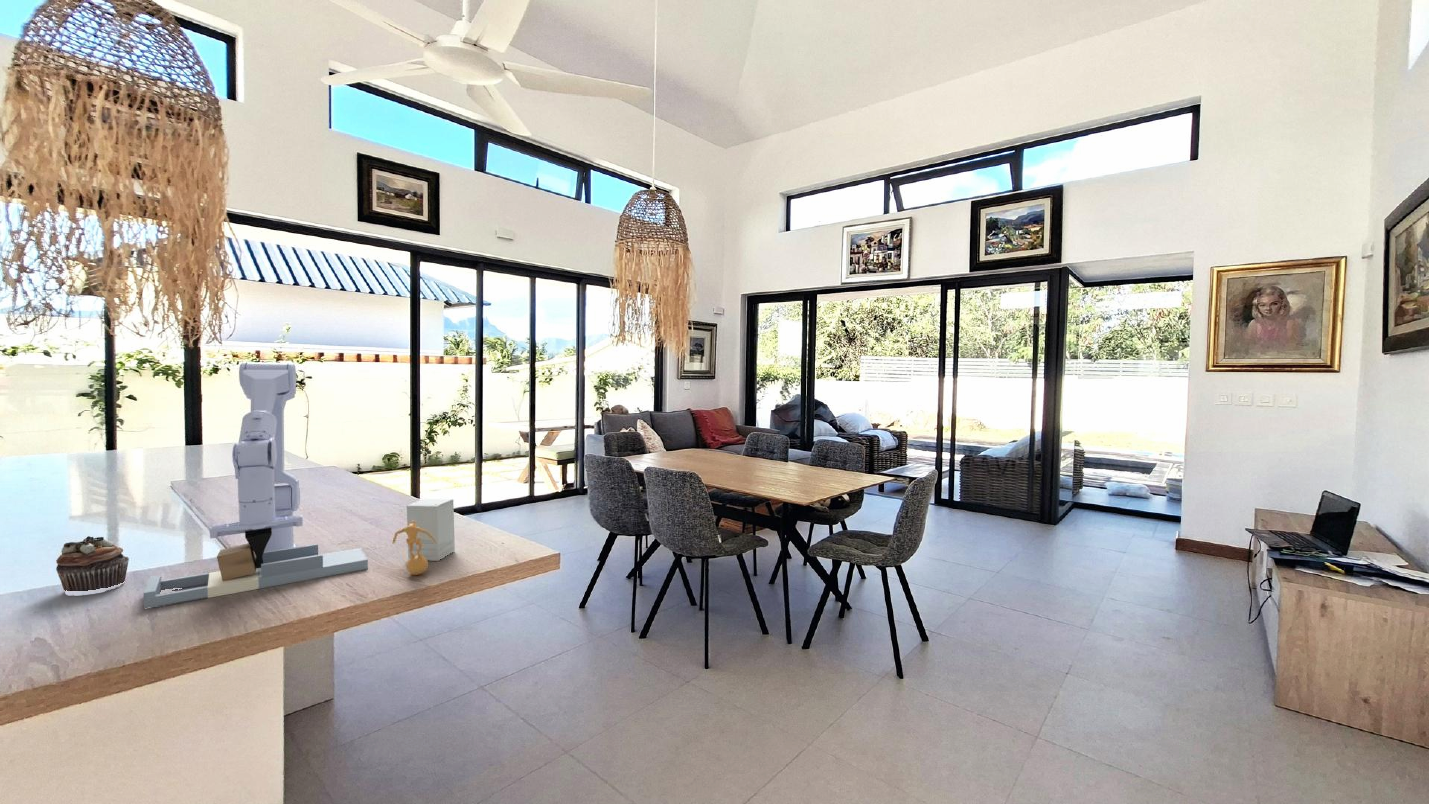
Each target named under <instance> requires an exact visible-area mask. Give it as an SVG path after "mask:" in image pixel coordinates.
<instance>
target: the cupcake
mask: <svg viewBox="0 0 1429 804" xmlns="http://www.w3.org/2000/svg"><path fill="white" fill-rule="evenodd" d="M123 551H124V549H123V548H122V547H120V546H118V545H115V544H114V542H112V541H109V540H107V539H105V538H104V536H100V537H99V536H98V537H94V536H90V535H89V536H86V537H85V538H84V539H83V540H82V541H77V542H75V541H74V542H73V541H70V542H66V543H64V544H63V547H62V548H61V552H60V553H61V554H60V555H59V556H58V557H57V559H55V560H56V561H55V562H56V564H57V565H56V569H55V571H56V572H57V576H58V578H59V580H60V583H61V585H62V589H63V591H64V590H65V591H66V590H67V591H88V590H96V589H100V588H108V587H111V586H114V585H118V584H120V583H123V582H124V581H125V582H126V577H127V571H128V566H129V561H130V558H129V557H128V556H124V554H123Z"/></svg>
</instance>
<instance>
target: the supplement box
mask: <svg viewBox="0 0 1429 804" xmlns="http://www.w3.org/2000/svg"><path fill="white" fill-rule="evenodd" d="M454 505H455V504H454V499H453V498H427V497H426V498H425V497H424V498H422V499H420V500H417V501H415V502H413V503H412V502H411V503H410V504H407V505H406V520H407V522H406V523H407V526H408V525H409V524H410V523H411V521H413V520H414V521H415V522H416V526H417V527H419V528H421V529H423V530H425V531H427V532H429V534H430V535H432V536H433V538H434V539H435V542H436V543H435V542H434V540H433V539H432V538H430V537H429V536H428V535H427V534H426V533H422V532H419V531H418V534H417V539H418V538H420V539H421V540H420V541H421V543H422V547H421V551H420V555H422V556H423V557H425V558H426V559H427V561H430V562H431V561H435V562H438V561H441V560H442V559H444V558H446V557H447V555H448V556H449V555H451V554H453V553H454V552H455V551H456V549H455V548H456V547H455V545H456V544H455V515H454V513H455V510H454V507H455V506H454ZM407 526H406V527H407ZM407 538H409V537H408V536H407ZM418 548H419V546H418V545H416V542H414V544H413V551H412V553H413V555H414V556H417V555H418V554H417V549H418ZM407 549H408V550H407V553H408V560H409V559H410V558H411V555H410V552H409V549H410V546H409V545H408V544H407ZM452 552H453V553H452ZM450 553H451V554H450ZM445 556H446V557H445ZM440 559H441V560H440Z"/></svg>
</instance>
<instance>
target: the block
mask: <svg viewBox="0 0 1429 804" xmlns="http://www.w3.org/2000/svg"><path fill="white" fill-rule="evenodd" d="M216 559H217V564H218V568H219V571H220V572H221V577H222V581H226V580H230V579H234V578H238V577H241V576H245V575H249V574H253V573H255V572H256V569H257V568H256V557H255V553H254V551H253V549H252V547H251V546H250V544H249V543H248V542H247V543H244V544H240V545H236V546H231V547H227V548H222V549H220V550H219V552H218V553H217V556H216Z"/></svg>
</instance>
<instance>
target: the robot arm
mask: <svg viewBox="0 0 1429 804" xmlns="http://www.w3.org/2000/svg"><path fill="white" fill-rule="evenodd" d="M238 380H239V385H240V387H241V389H242V391H243V394H244V395H245V397H246V399H249V400H250V412H248V413H246V414H244V415H243V417H242V419H241V427H240V433H239V439H238V443H234V444H233V446H232V453H231V454H232V455H231V460H232V464H233V469H234V476H235V477H234V478H235V480H237V492H238V493H237V497H238V498H237V500H238V502H237V503H238V518H239V519H238V521H236V522H230V523H225V524H219V525H213V526H210V527H209V538H210V539H215V538H218V537H225V536H226V537H227V536H231V535H239V534H244V537H245V539H246V541H247V543H249V544H250V546H251V547H252V549H253V551H254V553H255V557H256V568H261V564H263V557H262V556H263V553H264V552H266V551H272V550H279V549H285V548H292V547H297V545H296V542H295V541H294V540H295V539H294V537H295V535H294V527H303V515H299V514H298V515H294V512H296V511H298V509H300V506H301V504H300V503H301V491H300V483H299V482H300V481H299V479H298V477H296V476H295V475H293V474H292V473H290V472H288V471H286V470H285V431H284V430H285V419H284V418H285V415H284V414H285V407H286V404H287V401H290V400H292V399H295V397H296V394H297V393H296V392H297V371H296V365H295V364H294V363H293V362H292V361H289V362H257V361H256V362H248V361H242V363H241V364H240V365H239V368H238ZM275 484H276V485H275ZM278 484H283V485H278Z"/></svg>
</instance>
